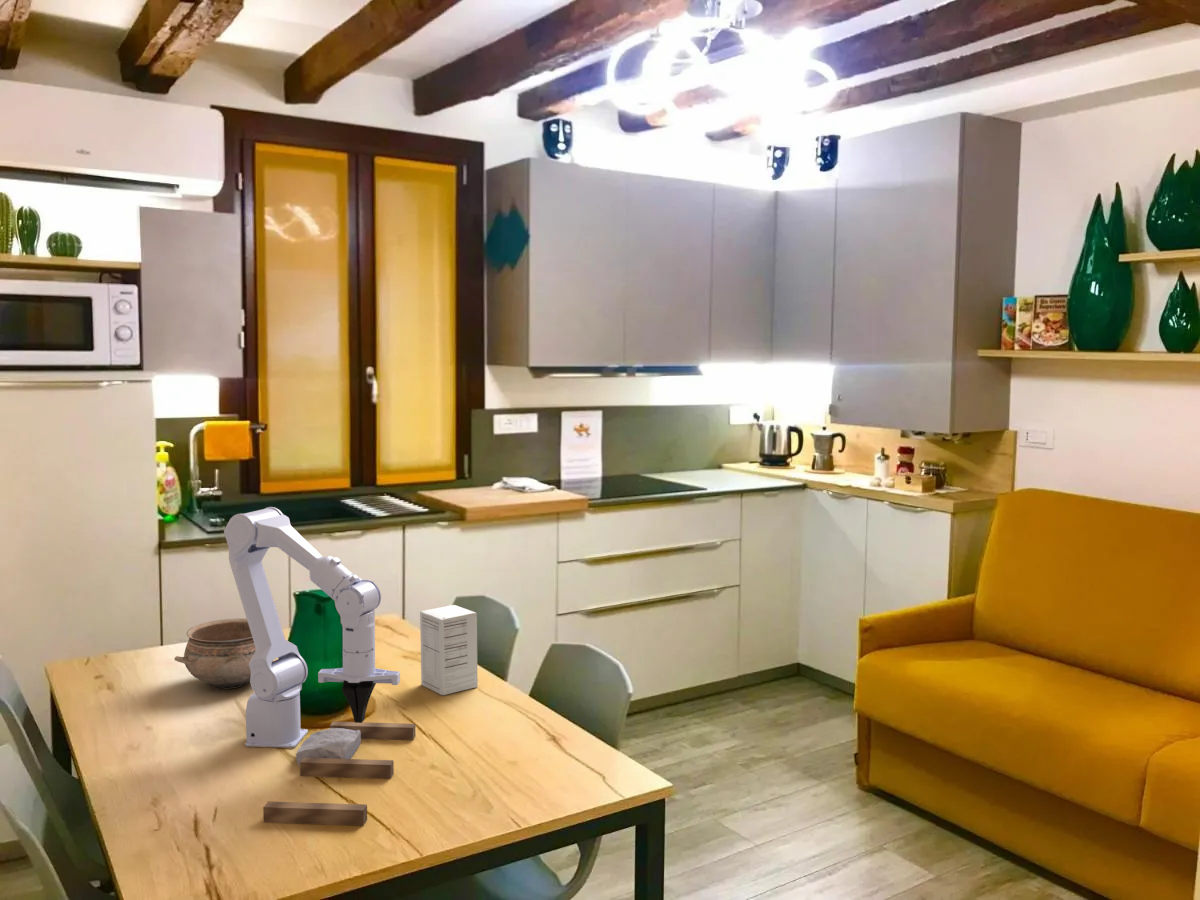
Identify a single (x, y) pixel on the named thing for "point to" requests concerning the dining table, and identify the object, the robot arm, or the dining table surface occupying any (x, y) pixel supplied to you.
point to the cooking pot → (220, 652)
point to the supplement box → (448, 649)
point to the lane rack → (340, 768)
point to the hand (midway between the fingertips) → (359, 720)
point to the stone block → (330, 744)
